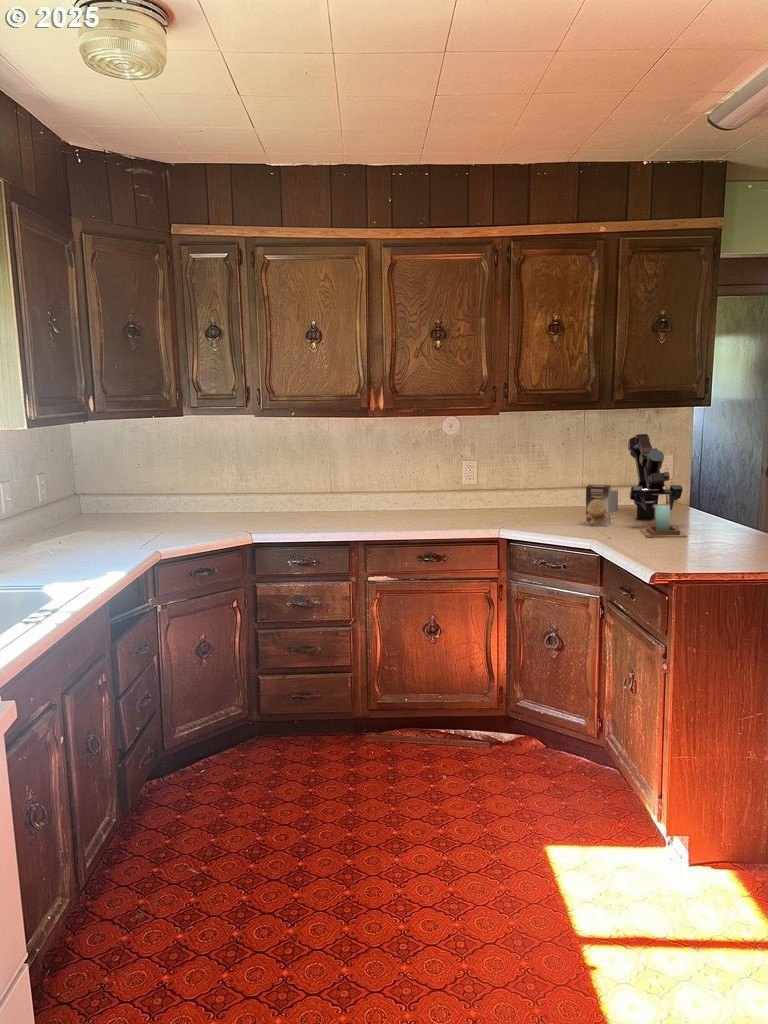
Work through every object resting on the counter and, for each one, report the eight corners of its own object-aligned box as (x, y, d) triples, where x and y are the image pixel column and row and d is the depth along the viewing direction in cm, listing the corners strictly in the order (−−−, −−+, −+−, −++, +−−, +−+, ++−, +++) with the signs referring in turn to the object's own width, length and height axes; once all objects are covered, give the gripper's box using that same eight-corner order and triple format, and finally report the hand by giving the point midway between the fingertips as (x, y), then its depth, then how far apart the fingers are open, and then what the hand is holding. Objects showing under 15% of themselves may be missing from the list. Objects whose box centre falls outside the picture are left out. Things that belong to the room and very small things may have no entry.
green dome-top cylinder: (652, 532, 286) (652, 506, 285) (661, 530, 289) (661, 504, 287) (664, 534, 282) (664, 507, 280) (672, 532, 285) (672, 505, 283)
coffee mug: (611, 514, 334) (611, 491, 332) (590, 512, 341) (590, 490, 339) (625, 510, 343) (625, 488, 342) (605, 508, 350) (605, 487, 349)
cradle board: (639, 531, 293) (639, 525, 293) (678, 530, 291) (678, 525, 291) (646, 538, 280) (646, 532, 279) (687, 537, 278) (687, 531, 277)
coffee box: (585, 526, 310) (584, 486, 307) (587, 523, 315) (587, 484, 313) (608, 526, 306) (608, 486, 303) (611, 524, 311) (610, 484, 309)
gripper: (631, 465, 296) (636, 497, 287) (681, 463, 293) (688, 496, 284) (627, 483, 305) (632, 515, 296) (676, 481, 302) (683, 514, 293)
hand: (658, 509), depth 292 cm, fingers open, 9 cm apart
